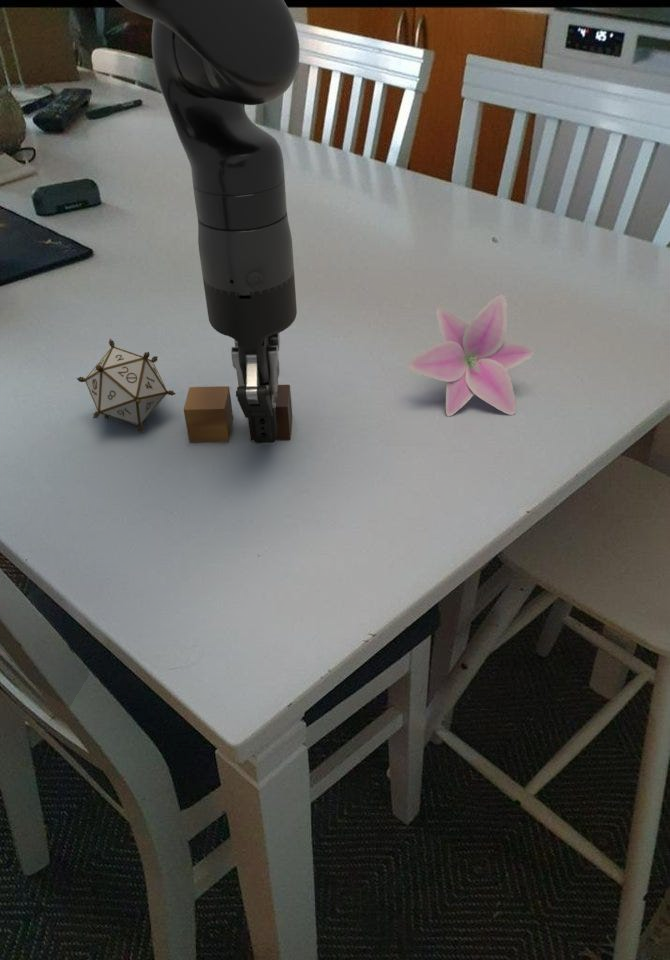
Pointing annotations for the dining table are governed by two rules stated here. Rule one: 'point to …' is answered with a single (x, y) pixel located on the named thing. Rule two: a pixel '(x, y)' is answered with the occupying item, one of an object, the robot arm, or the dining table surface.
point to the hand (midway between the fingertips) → (265, 438)
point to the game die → (125, 386)
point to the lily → (474, 358)
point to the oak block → (208, 414)
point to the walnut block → (281, 414)
